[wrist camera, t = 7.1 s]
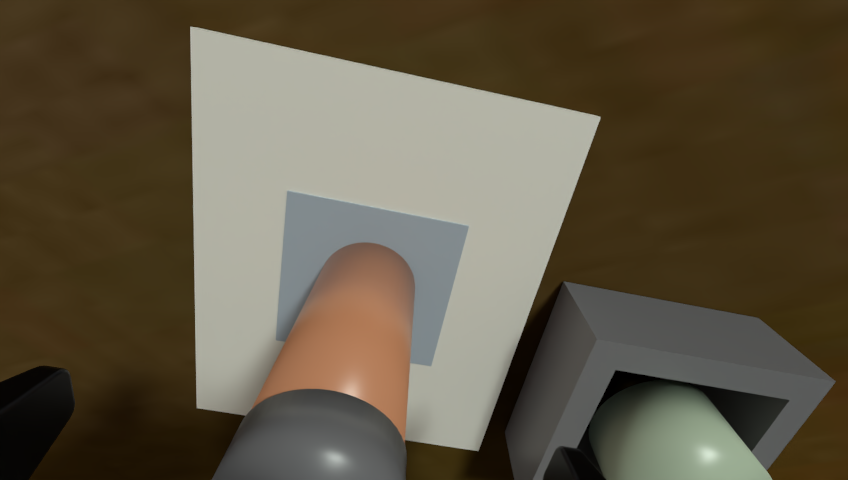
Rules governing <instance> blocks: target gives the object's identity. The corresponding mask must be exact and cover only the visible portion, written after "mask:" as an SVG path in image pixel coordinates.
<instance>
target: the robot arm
mask: <svg viewBox="0 0 848 480" xmlns="http://www.w3.org/2000/svg"><path fill="white" fill-rule="evenodd" d="M74 407H75V399H74V393H73V387H72V382H71V376H70V373H69V372H68V371H67V370H66V369H63V368H57V367H51V366H39V367H36V368H33V369H31V370H28V371H26V372H23V373H21V374H19V375H16V376H14V377H11V378H9V379H7V380H4V381H2V382H0V480H29V478H30V477H31V475H32V474H33V472H34V471H35V469H36V468H37V466H38V465H39V463H40V462H41V460H42V459H43V457H44V456H45V454H46V453H47V451H48V450H49V448H50V447H51V445H52V444H53V442H54V441H55V440H56V438H57V437H58V435H59V434H60V432H61V431H62V429H63V428H64V426H65V425H66V423H67V422H68V420H69V419H70V417H71V415H72V413H73V410H74ZM543 480H606V479H605V477H604V476H603V475H602V474H601V473H600V472H599V471H598V469H597V468H596V467H595V466H594V465H593V464H592V462H591V461H590V460H589V459H588V458H587V457H586V456H585V454H584V453H583V452H582V451H580V450H579V449H577V448H571V447H565V446H559V447H557V448H556V449H555V451H554V453H553V455H552V457H551V459H550V462H549V464H548V466H547V468H546V470H545V472H544V476H543Z"/></svg>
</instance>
